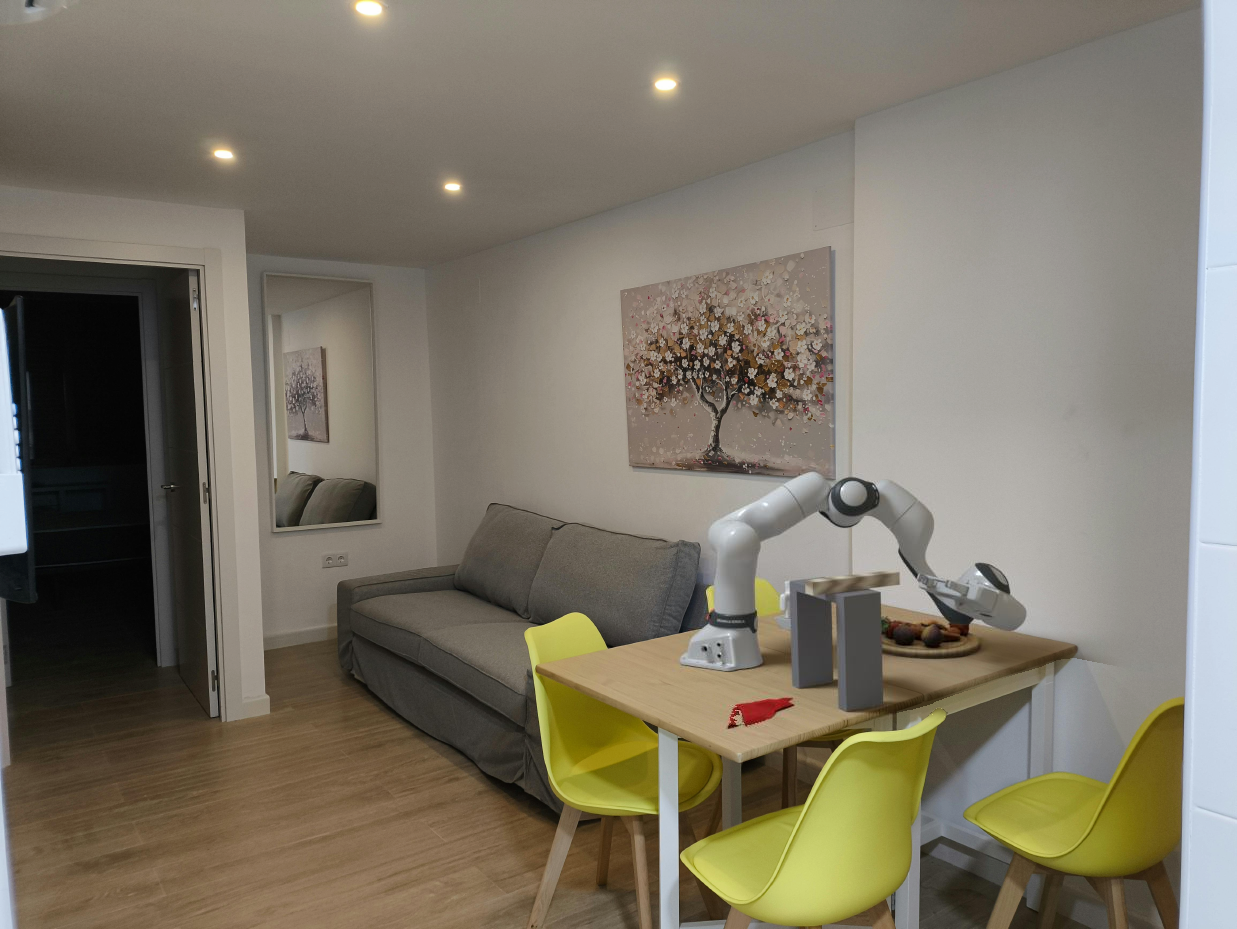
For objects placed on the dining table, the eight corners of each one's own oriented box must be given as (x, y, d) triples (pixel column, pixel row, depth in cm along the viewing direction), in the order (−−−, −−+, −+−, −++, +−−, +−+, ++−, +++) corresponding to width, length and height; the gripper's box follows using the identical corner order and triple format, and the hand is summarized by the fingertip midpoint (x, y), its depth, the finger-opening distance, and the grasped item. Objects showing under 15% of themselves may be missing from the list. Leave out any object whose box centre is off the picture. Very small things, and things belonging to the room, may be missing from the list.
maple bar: (813, 595, 193) (812, 582, 193) (805, 593, 196) (805, 580, 195) (899, 584, 201) (899, 572, 201) (891, 582, 204) (891, 570, 204)
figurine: (772, 629, 268) (771, 582, 268) (789, 624, 275) (788, 577, 274) (792, 633, 263) (791, 584, 263) (809, 627, 270) (807, 579, 269)
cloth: (777, 695, 207) (777, 686, 207) (820, 709, 196) (820, 700, 195) (694, 719, 192) (693, 709, 192) (735, 737, 181) (735, 726, 181)
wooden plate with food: (961, 630, 260) (960, 603, 260) (997, 659, 229) (996, 629, 228) (853, 632, 264) (853, 605, 263) (874, 661, 232) (873, 630, 231)
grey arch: (846, 711, 192) (843, 596, 190) (792, 685, 212) (789, 581, 211) (883, 705, 195) (880, 592, 194) (826, 679, 216) (823, 577, 214)
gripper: (946, 579, 222) (907, 561, 217) (1009, 593, 203) (969, 574, 198) (938, 602, 222) (899, 585, 217) (1001, 618, 203) (960, 600, 198)
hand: (933, 580), depth 207 cm, fingers open, 8 cm apart
